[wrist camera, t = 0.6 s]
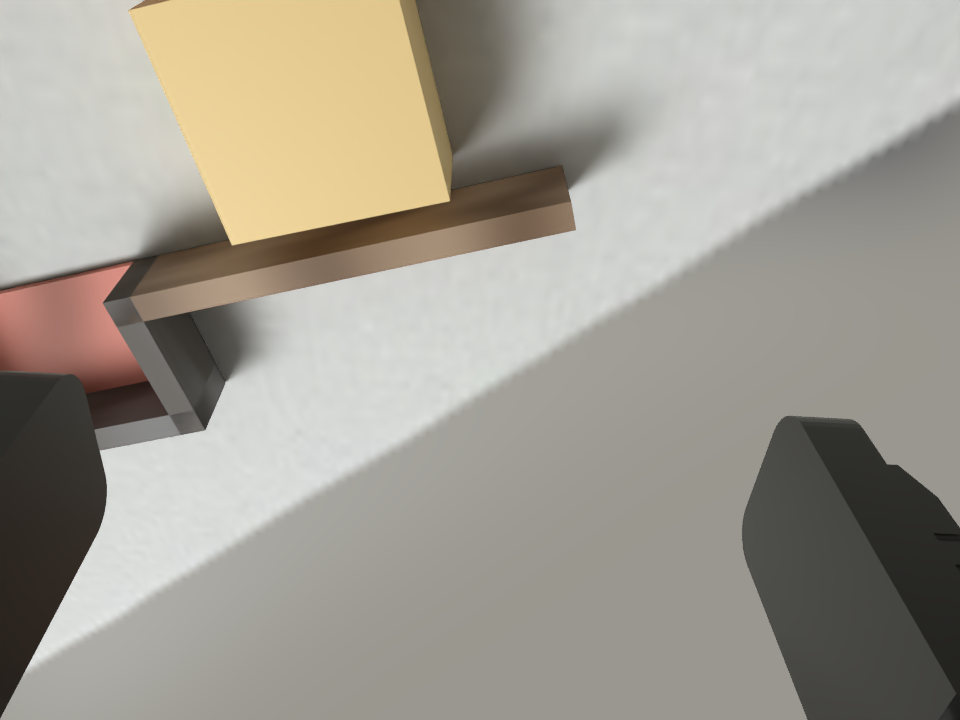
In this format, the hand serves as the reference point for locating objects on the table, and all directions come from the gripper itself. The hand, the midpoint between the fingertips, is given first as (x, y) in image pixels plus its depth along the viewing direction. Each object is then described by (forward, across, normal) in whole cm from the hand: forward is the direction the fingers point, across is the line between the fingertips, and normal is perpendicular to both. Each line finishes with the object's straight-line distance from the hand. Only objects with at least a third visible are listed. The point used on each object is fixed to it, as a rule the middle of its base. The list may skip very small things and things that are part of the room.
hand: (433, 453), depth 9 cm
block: (+19, +4, +1) cm, 20 cm away
